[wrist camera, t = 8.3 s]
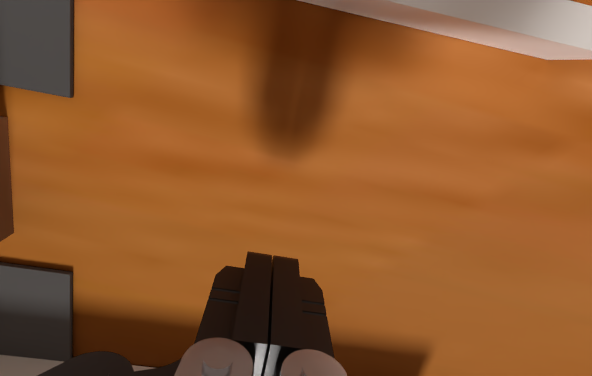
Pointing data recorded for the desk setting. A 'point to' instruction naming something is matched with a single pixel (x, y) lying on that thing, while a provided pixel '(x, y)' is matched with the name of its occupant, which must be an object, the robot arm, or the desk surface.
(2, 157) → the walnut block
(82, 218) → the desk surface
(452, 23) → the box
